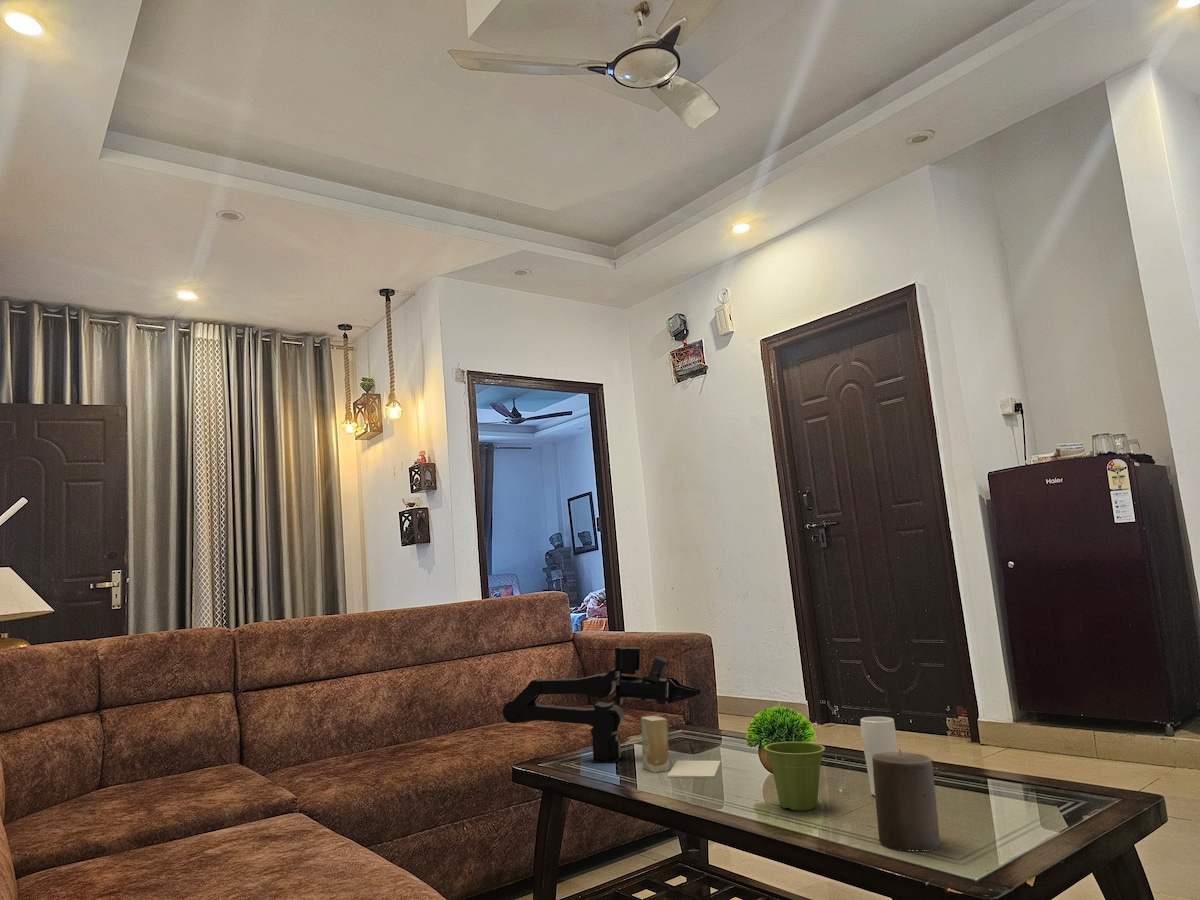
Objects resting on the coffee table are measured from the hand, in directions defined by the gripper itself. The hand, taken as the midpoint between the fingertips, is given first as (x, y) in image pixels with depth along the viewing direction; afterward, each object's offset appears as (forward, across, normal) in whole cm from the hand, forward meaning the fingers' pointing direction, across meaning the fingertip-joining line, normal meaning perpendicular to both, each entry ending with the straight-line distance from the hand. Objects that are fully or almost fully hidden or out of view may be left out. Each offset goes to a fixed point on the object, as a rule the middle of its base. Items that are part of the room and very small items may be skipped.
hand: (698, 692), depth 205 cm
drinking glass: (+42, -32, +16) cm, 55 cm away
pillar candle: (+42, -62, +19) cm, 77 cm away
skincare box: (-9, -8, +19) cm, 22 cm away
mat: (+1, -9, +18) cm, 20 cm away
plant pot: (+24, -40, +18) cm, 51 cm away
